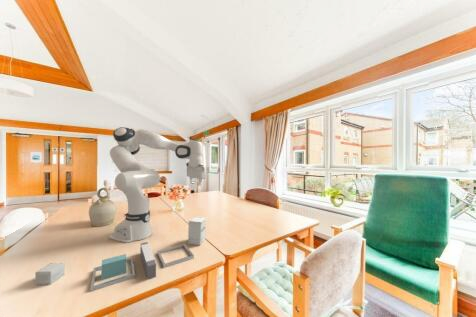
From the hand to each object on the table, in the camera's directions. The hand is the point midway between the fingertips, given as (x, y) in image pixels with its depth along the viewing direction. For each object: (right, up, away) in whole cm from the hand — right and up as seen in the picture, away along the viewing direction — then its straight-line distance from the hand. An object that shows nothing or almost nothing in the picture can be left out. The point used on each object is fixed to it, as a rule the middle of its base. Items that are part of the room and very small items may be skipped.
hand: (195, 184), depth 119 cm
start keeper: (-2, -29, -34) cm, 45 cm away
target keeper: (-21, -29, -48) cm, 60 cm away
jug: (-66, -28, +5) cm, 72 cm away
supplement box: (+5, -30, -19) cm, 36 cm away
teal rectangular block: (-21, -29, -47) cm, 60 cm away
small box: (-43, -29, -51) cm, 73 cm away
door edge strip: (-12, -29, -41) cm, 51 cm away
